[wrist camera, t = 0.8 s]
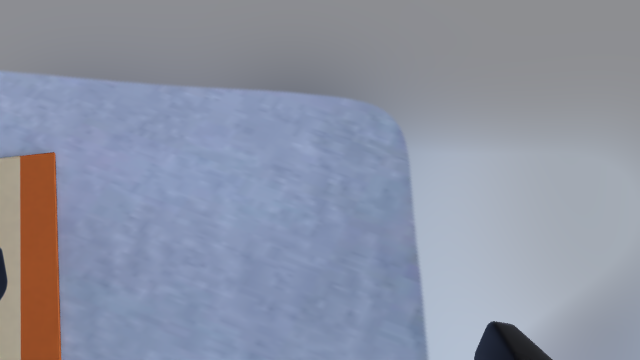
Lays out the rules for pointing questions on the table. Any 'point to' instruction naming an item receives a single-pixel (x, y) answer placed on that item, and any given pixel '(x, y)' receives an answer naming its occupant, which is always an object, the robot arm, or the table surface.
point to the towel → (29, 259)
